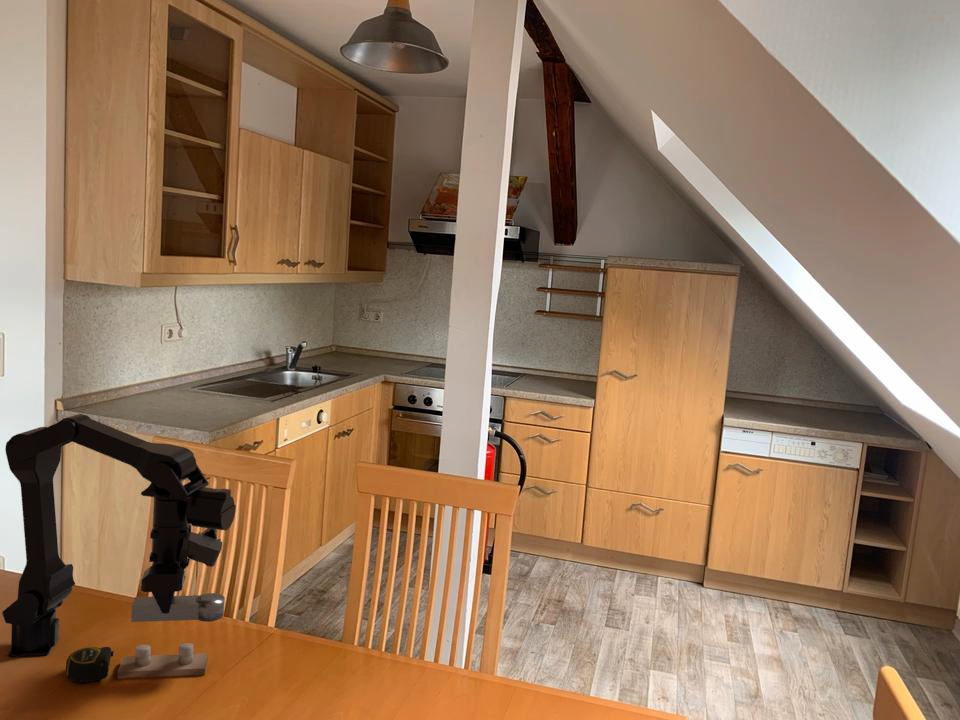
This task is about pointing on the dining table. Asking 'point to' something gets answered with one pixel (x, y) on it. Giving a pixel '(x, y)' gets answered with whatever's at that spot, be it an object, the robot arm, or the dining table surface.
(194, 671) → the peg stand
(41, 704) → the dining table surface
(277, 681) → the dining table surface
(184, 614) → the grey bar with knob
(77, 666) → the tape measure
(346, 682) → the dining table surface
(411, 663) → the dining table surface
